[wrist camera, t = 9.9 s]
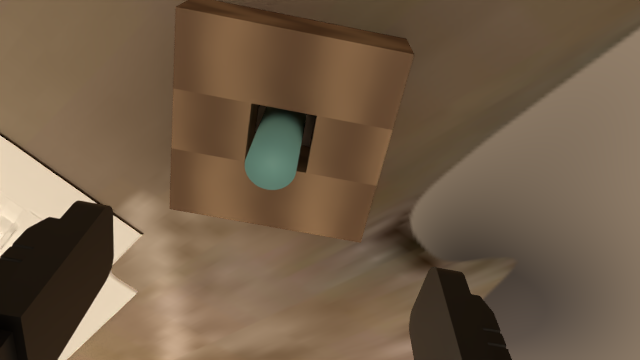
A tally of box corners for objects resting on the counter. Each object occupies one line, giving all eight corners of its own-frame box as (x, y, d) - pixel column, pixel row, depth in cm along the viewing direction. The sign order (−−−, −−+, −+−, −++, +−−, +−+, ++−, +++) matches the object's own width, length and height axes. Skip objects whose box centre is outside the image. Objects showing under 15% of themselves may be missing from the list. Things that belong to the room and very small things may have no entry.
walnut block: (185, 181, 37) (169, 208, 33) (194, -4, 30) (175, 6, 27) (359, 212, 38) (360, 242, 34) (406, 38, 31) (414, 54, 27)
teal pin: (262, 131, 35) (242, 184, 28) (267, 92, 33) (247, 139, 26) (302, 138, 35) (292, 193, 28) (309, 100, 33) (300, 149, 26)
